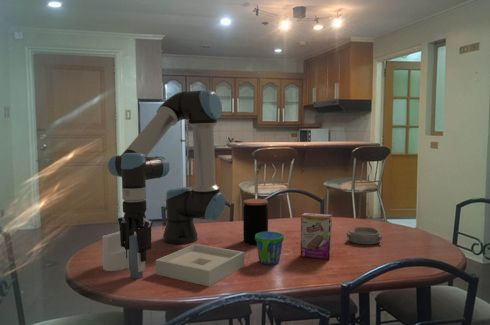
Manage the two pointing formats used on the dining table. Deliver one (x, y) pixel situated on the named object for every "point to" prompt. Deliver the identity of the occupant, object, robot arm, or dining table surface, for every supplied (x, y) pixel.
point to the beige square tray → (200, 264)
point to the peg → (134, 258)
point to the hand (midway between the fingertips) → (136, 269)
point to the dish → (364, 235)
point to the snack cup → (269, 247)
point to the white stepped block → (113, 253)
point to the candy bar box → (316, 235)
